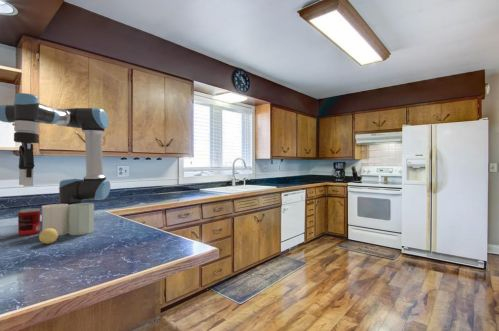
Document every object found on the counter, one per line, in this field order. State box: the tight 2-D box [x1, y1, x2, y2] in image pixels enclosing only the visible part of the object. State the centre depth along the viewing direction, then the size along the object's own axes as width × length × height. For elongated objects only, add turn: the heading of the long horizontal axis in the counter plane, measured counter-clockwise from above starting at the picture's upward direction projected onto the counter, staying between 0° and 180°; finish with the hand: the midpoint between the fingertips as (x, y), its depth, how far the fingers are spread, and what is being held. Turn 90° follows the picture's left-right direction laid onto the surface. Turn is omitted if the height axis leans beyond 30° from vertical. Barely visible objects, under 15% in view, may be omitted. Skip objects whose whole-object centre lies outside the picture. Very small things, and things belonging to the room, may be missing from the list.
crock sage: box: [67, 202, 95, 236], centre depth 123 cm, size 10×10×13 cm
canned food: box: [17, 207, 41, 237], centre depth 121 cm, size 8×8×11 cm
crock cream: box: [41, 203, 69, 237], centre depth 120 cm, size 10×10×13 cm
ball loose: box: [38, 228, 59, 245], centre depth 106 cm, size 6×6×6 cm
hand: (25, 185), depth 106 cm, fingers open, 13 cm apart
